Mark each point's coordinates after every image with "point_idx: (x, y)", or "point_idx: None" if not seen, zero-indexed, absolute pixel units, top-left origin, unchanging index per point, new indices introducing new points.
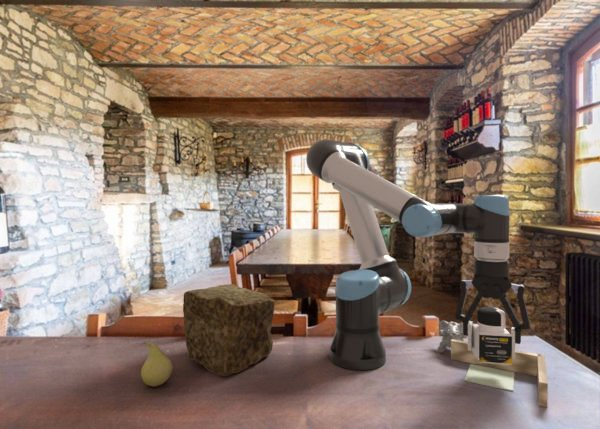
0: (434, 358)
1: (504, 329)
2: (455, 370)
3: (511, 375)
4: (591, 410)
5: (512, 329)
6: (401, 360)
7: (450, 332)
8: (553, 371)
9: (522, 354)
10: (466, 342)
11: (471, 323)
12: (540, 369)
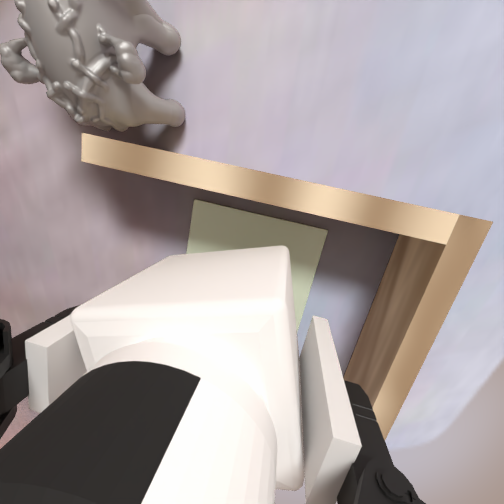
0: (88, 180)
1: (274, 419)
2: (154, 255)
3: (311, 256)
4: (463, 398)
5: (321, 488)
6: (11, 229)
7: (50, 80)
8: (491, 160)
9: (379, 228)
10: (144, 160)
11: (47, 396)
12: (393, 378)
